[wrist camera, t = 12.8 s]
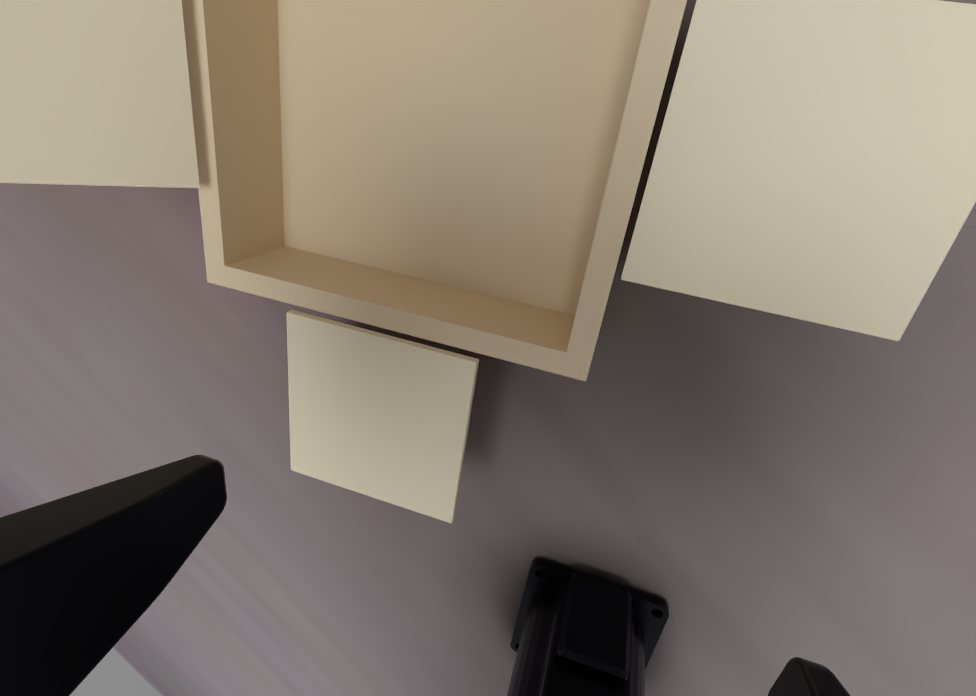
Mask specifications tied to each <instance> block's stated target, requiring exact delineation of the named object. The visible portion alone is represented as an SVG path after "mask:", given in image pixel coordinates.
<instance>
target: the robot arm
mask: <svg viewBox="0 0 976 696" xmlns="http://www.w3.org/2000/svg"><path fill="white" fill-rule="evenodd" d="M226 500H227V493H226V483H225V473H224V466H223V464H222V463H221V462H220V461H218V460H216V459H213V458H210V457H207V456H204V455H194V456H191V457H188V458H185V459H182V460H178V461H175V462H172V463H169V464H166V465H163V466H160V467H157V468H154V469H150V470H147V471H144V472H141V473H138V474H135V475H132V476H129V477H126V478H122V479H119V480H116V481H113V482H110V483H107V484H104V485H101V486H98V487H94V488H91V489H88V490H85V491H82V492H79V493H76V494H73V495H70V496H66V497H63V498H60V499H57V500H54V501H51V502H48V503H45V504H41V505H38V506H35V507H32V508H29V509H26V510H23V511H20V512H17V513H13V514H10V515H7V516H4V517H1V518H0V696H69V695H70V694H71V693H72V692H73V691H74V690H75V689H76V688H77V687H78V685H79V684H80V683H81V682H82V681H83V680H84V679H85V678H86V677H87V675H88V674H89V673H90V672H91V671H92V670H93V669H94V667H95V666H96V665H97V664H98V663H99V662H100V661H101V660H102V659H103V658H104V656H105V655H106V654H107V653H108V652H109V651H110V650H111V649H112V648H113V646H114V645H115V644H116V643H117V642H118V641H119V640H120V639H121V637H122V636H123V635H124V634H125V633H126V632H127V631H128V630H129V629H130V627H131V626H132V625H133V624H134V623H135V622H136V621H137V620H138V618H139V617H140V616H141V615H142V614H143V613H144V612H145V611H146V610H147V608H148V607H149V606H150V605H151V604H152V603H153V602H154V600H155V599H156V598H157V597H158V596H159V595H160V593H161V592H162V591H163V590H164V588H165V587H166V586H167V585H168V583H169V582H170V581H171V580H172V578H173V577H174V576H175V574H176V573H177V572H178V570H179V569H180V568H181V566H182V565H183V564H184V562H185V561H186V560H187V558H188V557H189V556H190V554H191V553H192V552H193V550H194V549H195V548H196V546H197V545H198V544H199V542H200V541H201V540H202V538H203V537H204V536H205V534H206V533H207V531H208V530H209V529H210V527H211V526H212V525H213V523H214V522H215V521H216V519H217V518H218V517H219V515H220V514H221V513H222V511H223V509H224V507H225V504H226ZM538 569H540V570H543V571H540V570H538ZM655 609H658V610H655ZM668 617H669V607H668V604H667V603H666V602H665V601H664V600H662V599H659V598H656V597H653V596H651V595H648V594H645V593H642V592H639V591H636V590H633V589H630V588H627V587H624V586H621V585H618V584H615V583H612V582H609V581H606V580H603V579H600V578H597V577H594V576H591V575H588V574H585V573H582V572H579V571H576V570H573V569H570V568H567V567H564V566H561V565H558V564H555V563H552V562H549V561H546V560H543V559H536V560H534V561H533V562H532V563H531V567H530V571H529V575H528V579H527V583H526V586H525V590H524V594H523V598H522V602H521V606H520V610H519V614H518V618H517V621H516V625H515V629H514V633H513V637H512V641H511V647H512V649H513V650H514V651H515V652H517V656H516V660H515V664H514V668H513V672H512V676H511V681H510V685H509V689H508V693H507V696H645V668H646V666H647V664H648V661H649V659H650V657H651V655H652V653H653V650H654V648H655V646H656V644H657V641H658V639H659V637H660V635H661V633H662V630H663V628H664V626H665V624H666V622H667V619H668ZM768 696H850V695H849V693H848V692H847V691H846V690H845V688H844V687H843V686H842V684H841V683H840V682H839V680H838V679H837V678H836V677H835V675H834V674H833V673H832V672H831V671H830V670H829V669H828V668H826V667H825V666H822V665H820V664H817V663H814V662H811V661H808V660H805V659H802V658H799V657H795V658H792V659H790V660H789V662H788V663H787V664H786V666H785V668H784V669H783V671H782V672H781V674H780V675H779V677H778V678H777V680H776V682H775V683H774V685H773V686H772V688H771V689H770V691H769V694H768Z"/></svg>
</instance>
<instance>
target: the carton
mask: <svg viewBox="0 0 976 696" xmlns="http://www.w3.org/2000/svg"><path fill="white" fill-rule="evenodd" d="M686 3H687V0H182V10H183V21H184V31H185V41H186V52H187V62H188V72H189V83H190V93H191V103H192V114H193V124H194V134H195V144H196V155H197V165H198V175H199V186H200V188H198V191H199V201H200V211H201V221H202V231H203V242H204V252H205V262H206V272H207V282H209V283H213V284H217V285H220V286H224V287H228V288H232V289H236V290H239V291H243V292H247V293H251V294H255V295H258V296H262V297H266V298H270V299H274V300H277V301H281V302H285V303H289V304H293V305H296V306H300V307H304V308H308V309H312V310H316V311H319V312H323V313H327V314H331V315H335V316H338V317H342V318H346V319H350V320H354V321H357V322H361V323H365V324H369V325H373V326H376V327H380V328H384V329H388V330H392V331H395V332H399V333H403V334H407V335H411V336H414V337H418V338H422V339H426V340H430V341H433V342H437V343H441V344H445V345H449V346H453V347H456V348H460V349H464V350H468V351H472V352H475V353H479V354H483V355H487V356H491V357H494V358H498V359H502V360H506V361H510V362H513V363H517V364H521V365H525V366H529V367H532V368H536V369H540V370H544V371H548V372H551V373H555V374H559V375H563V376H567V377H570V378H574V379H578V380H582V381H586V380H587V376H588V372H589V369H590V365H591V361H592V357H593V354H594V350H595V346H596V342H597V338H598V335H599V331H600V327H601V323H602V320H603V316H604V312H605V308H606V304H607V301H608V297H609V293H610V289H611V286H612V282H613V278H614V274H615V271H616V267H617V263H618V259H619V255H620V252H621V248H622V244H623V240H624V237H625V233H626V229H627V225H628V222H629V218H630V214H631V210H632V206H633V203H634V199H635V195H636V191H637V188H638V184H639V180H640V176H641V172H642V169H643V165H644V161H645V157H646V154H647V150H648V146H649V142H650V139H651V135H652V131H653V127H654V123H655V120H656V116H657V112H658V108H659V105H660V101H661V97H662V93H663V89H664V86H665V82H666V78H667V74H668V71H669V67H670V63H671V59H672V56H673V52H674V48H675V44H676V40H677V37H678V33H679V29H680V25H681V22H682V18H683V14H684V10H685V6H686ZM975 202H976V4H967V3H958V2H948V1H939V0H696V4H695V7H694V11H693V15H692V19H691V22H690V26H689V30H688V33H687V37H686V41H685V44H684V48H683V52H682V55H681V59H680V63H679V66H678V70H677V74H676V77H675V81H674V85H673V88H672V92H671V96H670V99H669V103H668V107H667V111H666V114H665V118H664V122H663V125H662V129H661V133H660V136H659V140H658V144H657V147H656V151H655V155H654V158H653V162H652V166H651V169H650V173H649V177H648V180H647V184H646V188H645V191H644V195H643V199H642V202H641V206H640V210H639V214H638V217H637V221H636V225H635V228H634V232H633V236H632V239H631V243H630V247H629V250H628V254H627V258H626V261H625V265H624V269H623V272H622V276H621V280H625V281H629V282H634V283H638V284H643V285H647V286H652V287H656V288H661V289H665V290H670V291H674V292H679V293H683V294H688V295H692V296H697V297H701V298H706V299H710V300H715V301H719V302H724V303H728V304H733V305H737V306H742V307H747V308H751V309H756V310H760V311H765V312H769V313H774V314H778V315H783V316H787V317H792V318H796V319H801V320H805V321H810V322H814V323H819V324H823V325H828V326H832V327H837V328H841V329H846V330H850V331H855V332H859V333H864V334H868V335H873V336H877V337H882V338H886V339H891V340H895V341H899V340H900V338H901V337H902V335H903V333H904V331H905V329H906V327H907V326H908V324H909V322H910V320H911V318H912V317H913V315H914V313H915V311H916V309H917V308H918V306H919V304H920V302H921V300H922V298H923V297H924V295H925V293H926V291H927V289H928V288H929V286H930V284H931V282H932V280H933V278H934V277H935V275H936V273H937V271H938V269H939V268H940V266H941V264H942V262H943V260H944V259H945V257H946V255H947V253H948V251H949V249H950V248H951V246H952V244H953V242H954V240H955V239H956V237H957V235H958V233H959V231H960V230H961V228H962V226H963V224H964V222H965V220H966V219H967V217H968V215H969V213H970V211H971V210H972V208H973V206H974V204H975ZM287 347H288V383H289V418H290V454H291V470H292V471H295V472H298V473H301V474H304V475H307V476H310V477H313V478H316V479H319V480H322V481H325V482H328V483H331V484H334V485H337V486H340V487H343V488H346V489H349V490H352V491H355V492H358V493H361V494H364V495H367V496H370V497H373V498H376V499H379V500H382V501H385V502H388V503H391V504H394V505H397V506H400V507H403V508H406V509H409V510H412V511H415V512H418V513H421V514H424V515H427V516H430V517H433V518H436V519H439V520H442V521H445V522H448V523H451V524H452V522H453V520H454V518H455V511H456V505H457V499H458V492H459V486H460V479H461V473H462V467H463V460H464V454H465V447H466V441H467V435H468V428H469V422H470V415H471V409H472V403H473V396H474V390H475V383H476V377H477V371H478V364H479V359H477V358H473V357H469V356H465V355H462V354H458V353H454V352H450V351H447V350H443V349H439V348H435V347H432V346H428V345H424V344H420V343H416V342H413V341H409V340H405V339H401V338H398V337H394V336H390V335H386V334H382V333H379V332H375V331H371V330H367V329H364V328H360V327H356V326H352V325H348V324H345V323H341V322H337V321H333V320H330V319H326V318H322V317H318V316H315V315H311V314H307V313H303V312H299V311H296V310H290V311H288V312H287Z"/></svg>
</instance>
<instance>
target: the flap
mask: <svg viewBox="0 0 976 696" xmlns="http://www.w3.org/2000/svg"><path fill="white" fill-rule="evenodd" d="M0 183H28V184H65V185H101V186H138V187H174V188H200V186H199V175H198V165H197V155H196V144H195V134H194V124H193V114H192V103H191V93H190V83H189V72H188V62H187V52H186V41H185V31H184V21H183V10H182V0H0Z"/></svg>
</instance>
